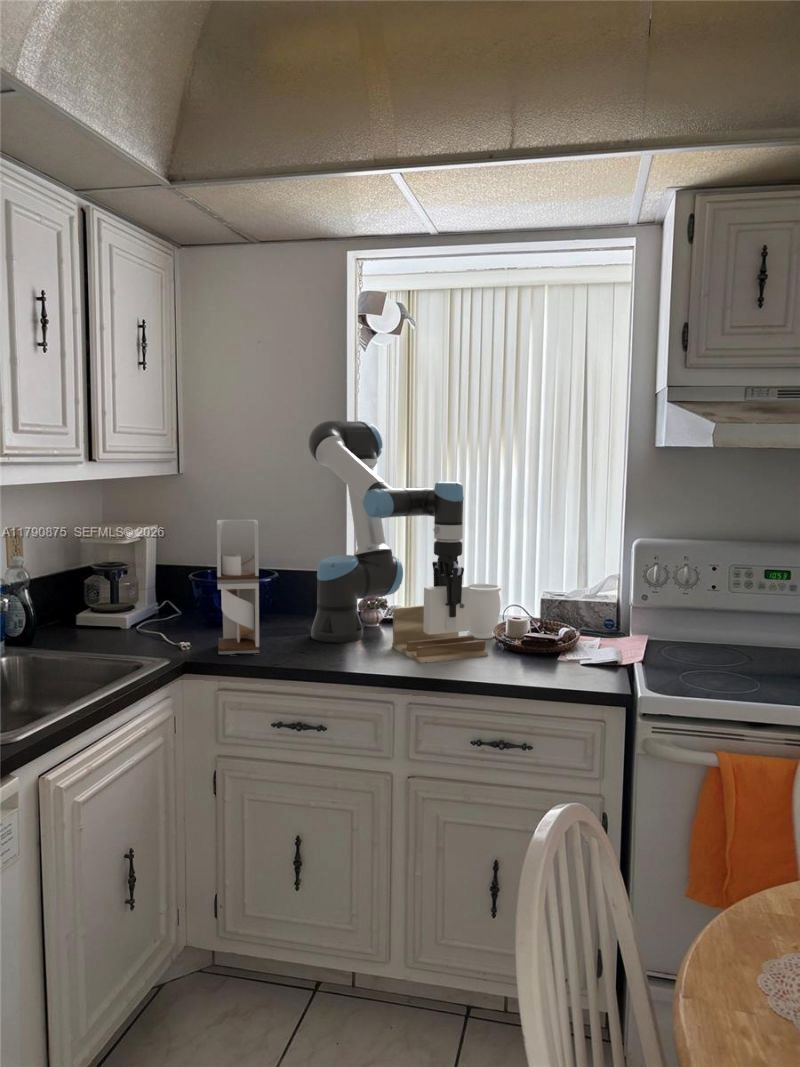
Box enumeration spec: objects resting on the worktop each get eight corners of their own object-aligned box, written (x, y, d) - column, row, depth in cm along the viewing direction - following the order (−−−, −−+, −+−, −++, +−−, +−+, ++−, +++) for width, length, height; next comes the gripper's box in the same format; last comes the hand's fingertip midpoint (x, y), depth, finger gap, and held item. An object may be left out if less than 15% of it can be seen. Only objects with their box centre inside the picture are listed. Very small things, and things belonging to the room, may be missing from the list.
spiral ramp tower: (218, 645, 221) (217, 519, 218) (257, 643, 223) (257, 519, 220) (218, 655, 210) (216, 523, 206) (259, 654, 212) (258, 523, 209)
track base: (392, 647, 222) (392, 607, 221) (455, 640, 230) (456, 602, 229) (420, 663, 206) (421, 620, 204) (487, 655, 214) (488, 614, 213)
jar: (490, 631, 243) (492, 582, 241) (505, 639, 233) (507, 588, 231) (458, 633, 239) (459, 584, 238) (472, 641, 230) (473, 590, 228)
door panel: (423, 631, 213) (423, 587, 211) (462, 628, 218) (463, 584, 216) (430, 635, 209) (430, 589, 208) (470, 631, 214) (471, 586, 213)
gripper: (421, 537, 217) (420, 622, 219) (450, 544, 202) (449, 635, 204) (445, 536, 220) (444, 620, 222) (476, 543, 205) (474, 632, 207)
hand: (446, 627), depth 213 cm, fingers closed on door panel, 3 cm apart
